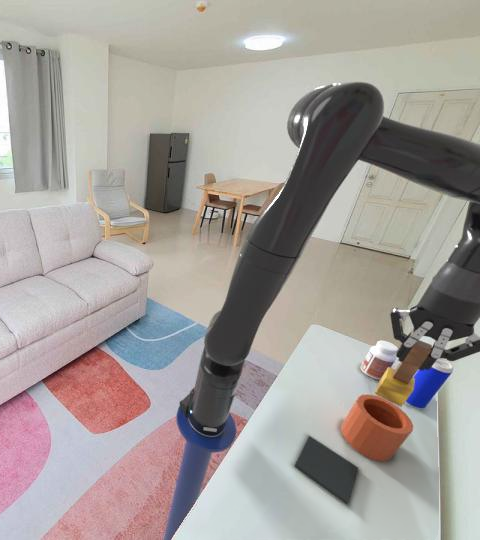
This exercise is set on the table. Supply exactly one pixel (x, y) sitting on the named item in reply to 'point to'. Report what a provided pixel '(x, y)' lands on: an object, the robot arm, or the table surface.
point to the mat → (327, 468)
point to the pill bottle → (379, 359)
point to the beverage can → (429, 383)
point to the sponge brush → (403, 375)
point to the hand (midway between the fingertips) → (410, 363)
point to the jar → (376, 427)
